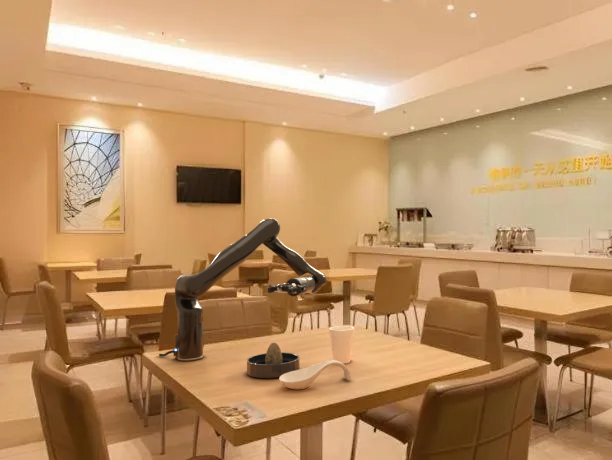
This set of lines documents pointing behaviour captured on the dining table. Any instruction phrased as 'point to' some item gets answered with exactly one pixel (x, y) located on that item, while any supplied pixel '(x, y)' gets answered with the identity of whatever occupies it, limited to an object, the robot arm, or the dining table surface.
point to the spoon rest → (309, 374)
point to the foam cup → (341, 342)
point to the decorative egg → (273, 354)
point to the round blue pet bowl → (272, 366)
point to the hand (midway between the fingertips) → (278, 290)
